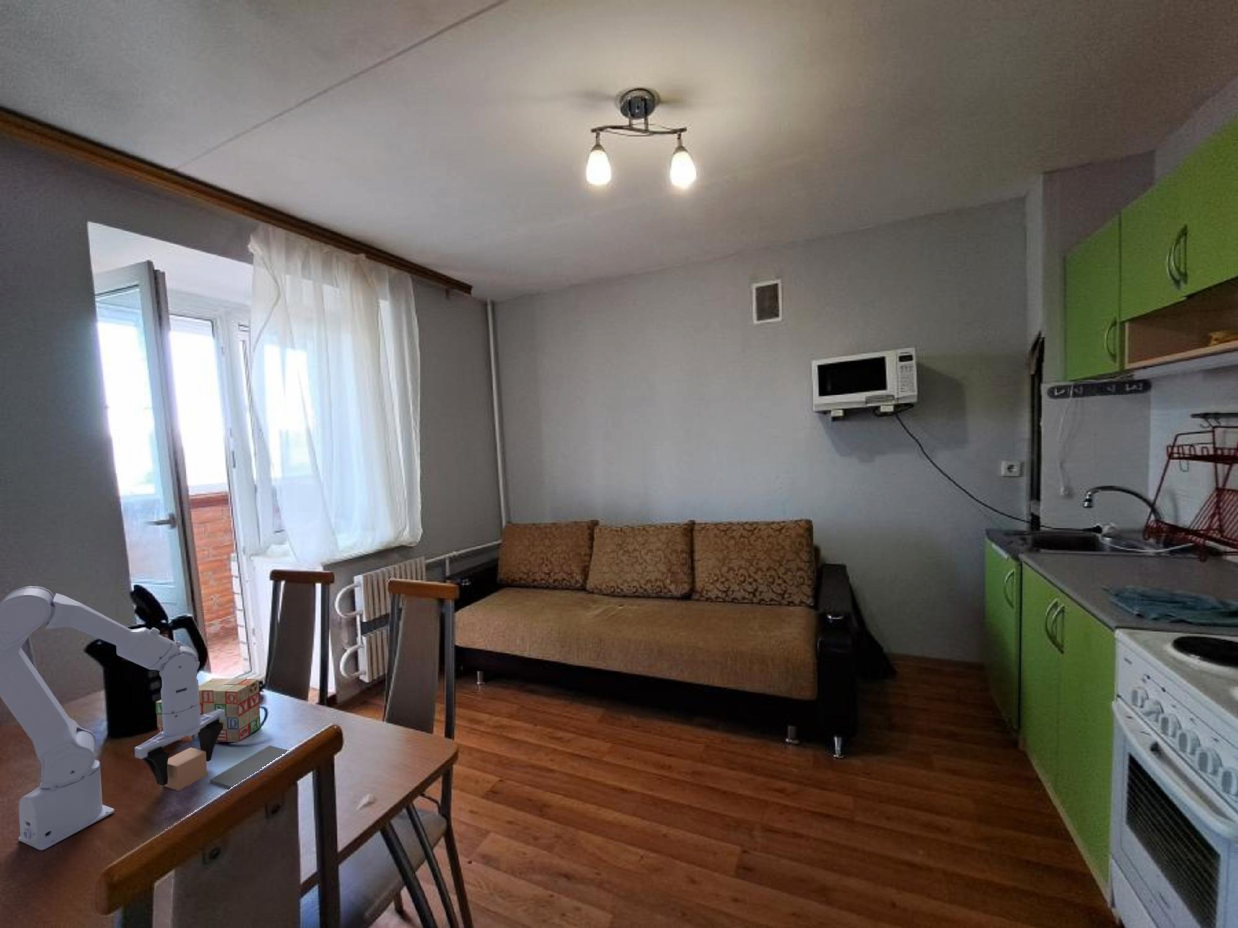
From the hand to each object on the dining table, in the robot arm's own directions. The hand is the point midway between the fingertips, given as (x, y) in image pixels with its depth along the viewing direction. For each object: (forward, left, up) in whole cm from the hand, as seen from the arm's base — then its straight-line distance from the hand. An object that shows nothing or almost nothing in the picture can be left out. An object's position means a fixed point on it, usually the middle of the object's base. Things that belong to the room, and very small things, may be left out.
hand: (185, 771), depth 99 cm
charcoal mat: (+7, -12, -2) cm, 14 cm away
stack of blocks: (+13, +15, -2) cm, 20 cm away
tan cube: (0, 0, -2) cm, 2 cm away
